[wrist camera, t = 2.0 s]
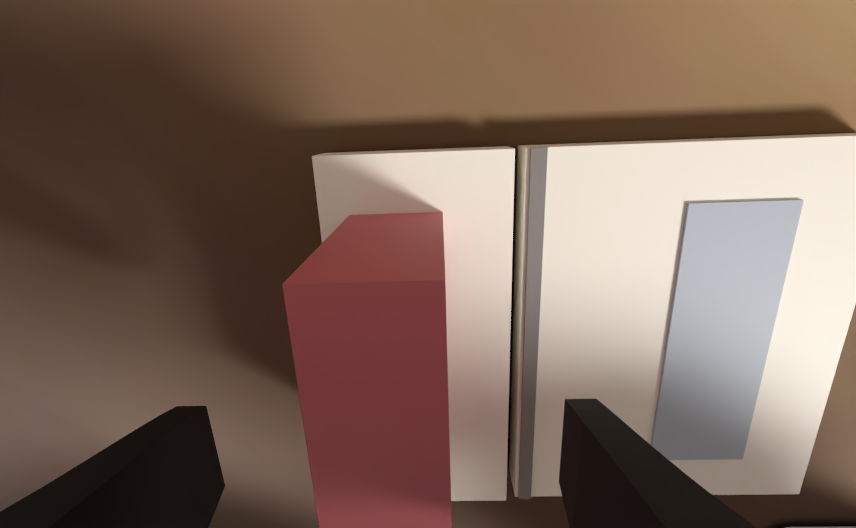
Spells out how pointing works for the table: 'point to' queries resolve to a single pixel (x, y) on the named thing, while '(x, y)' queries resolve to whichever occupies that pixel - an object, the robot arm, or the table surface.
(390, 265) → the stub
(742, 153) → the white flat slab
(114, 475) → the robot arm
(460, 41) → the table surface
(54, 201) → the table surface
